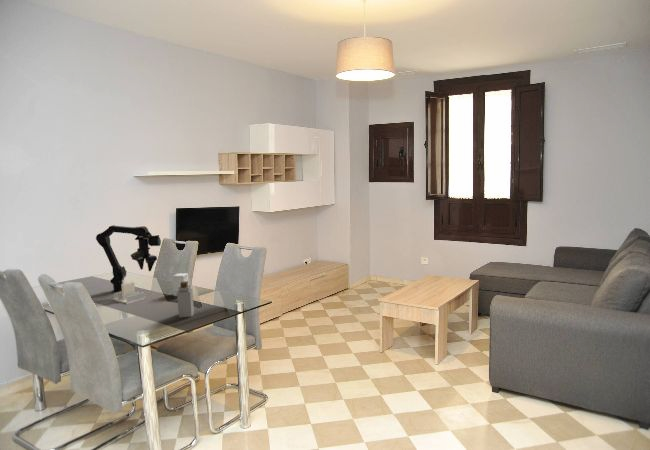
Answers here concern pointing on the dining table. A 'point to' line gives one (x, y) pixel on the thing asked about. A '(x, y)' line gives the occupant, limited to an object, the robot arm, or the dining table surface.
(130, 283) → the cream rectangular tile
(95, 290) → the dining table surface
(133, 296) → the rack
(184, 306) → the perfume bottle
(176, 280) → the supplement box
